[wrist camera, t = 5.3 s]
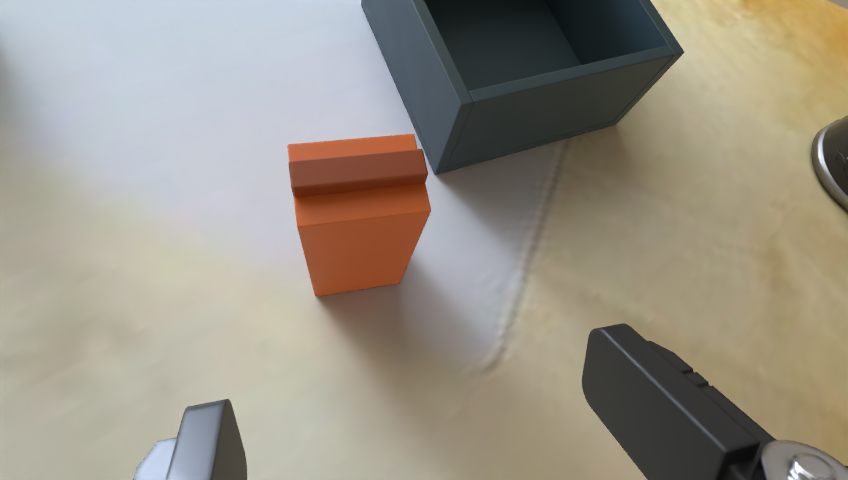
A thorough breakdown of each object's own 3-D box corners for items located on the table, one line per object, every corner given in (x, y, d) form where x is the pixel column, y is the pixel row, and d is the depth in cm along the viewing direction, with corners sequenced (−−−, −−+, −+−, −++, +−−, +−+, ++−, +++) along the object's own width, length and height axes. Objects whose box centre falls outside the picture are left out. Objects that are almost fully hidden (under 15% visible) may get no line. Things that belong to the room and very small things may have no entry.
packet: (390, 230, 30) (416, 122, 19) (400, 283, 29) (435, 202, 17) (308, 240, 29) (284, 132, 17) (315, 296, 27) (295, 219, 16)
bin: (531, -23, 40) (572, -118, 33) (616, 124, 36) (685, 52, 29) (361, 5, 36) (365, -98, 29) (434, 175, 32) (461, 105, 24)
